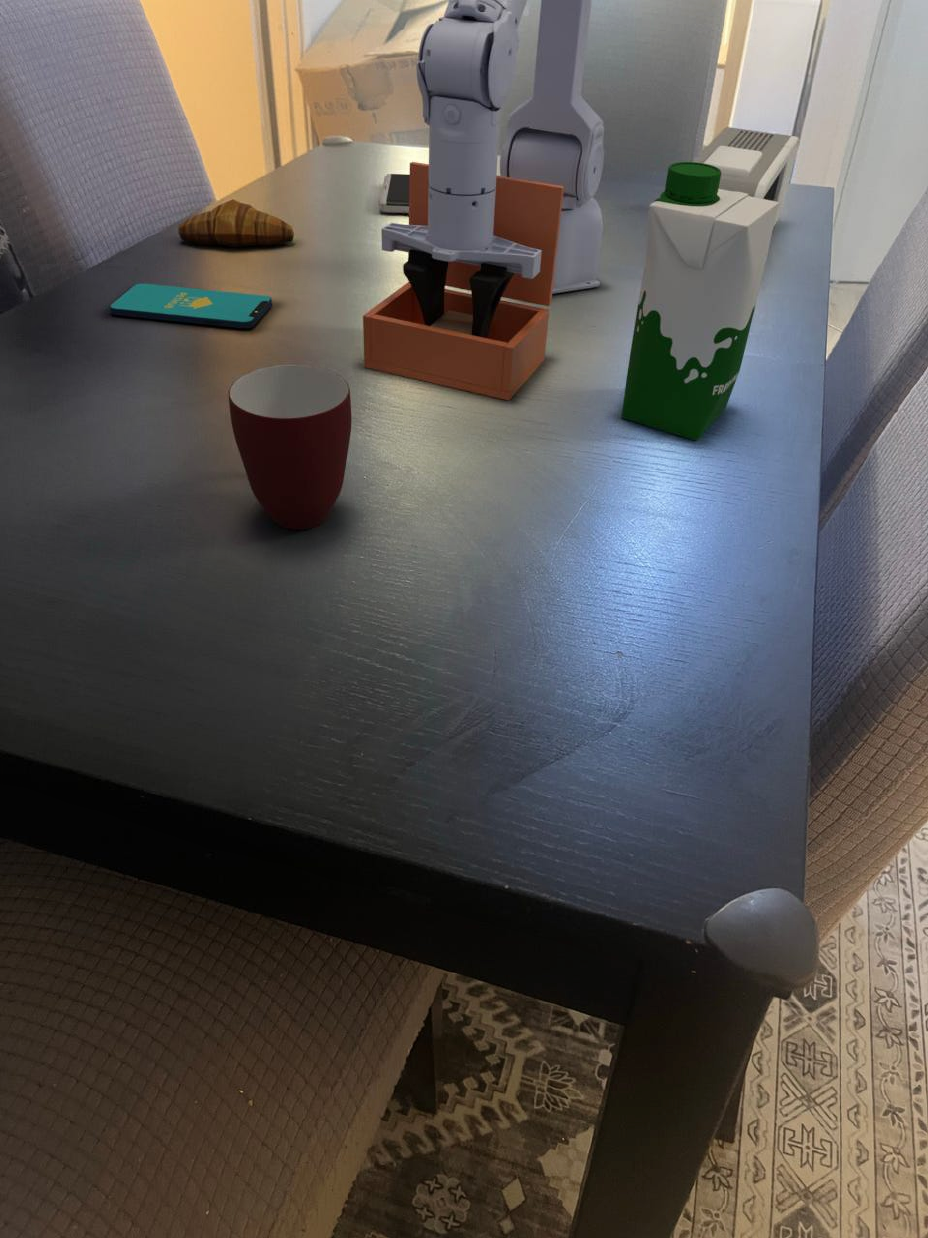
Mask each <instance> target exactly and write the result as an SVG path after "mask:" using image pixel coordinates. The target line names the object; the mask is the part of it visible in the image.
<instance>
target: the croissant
mask: <svg viewBox="0 0 928 1238" xmlns="http://www.w3.org/2000/svg"><path fill="white" fill-rule="evenodd" d="M177 232H178V235H179V239H180V240H182V241H185V242H189V243H193V244H204V245H221V246H228V247H243V246H267V245H268V246H269V245H281V244H286V243H290V242H292V241H293V240H294V235H295V233H294V229H293V226H291V225H290V224H288V223H287V222H285V221H284V220H282V219H280V218H278V217H276V216H274V215H271V214H269V213H267V212H264V211H260V210H257V208H255V207H254V206H252V205H251V204H248V203H243V202H240V201H238V200H235V199H230V200H227V201H226V202H223V203H221V204H219V205H217V206H215V207H214V208H212V209H211V210H209V211H205V212H201V213H199V214H196V215H194V216H192V217H189V218H188V219H186V220H184V221H183V222H181V223H180V224H179V225H178V230H177Z"/></svg>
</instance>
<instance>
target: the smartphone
mask: <svg viewBox="0 0 928 1238" xmlns="http://www.w3.org/2000/svg"><path fill="white" fill-rule="evenodd" d="M272 306H273V300H272V297H271V296H269V295H261V294H254V293H253V294H251V293H242V292H231V291H222V290H213V289H203V288H192V287H182V286H174V285H173V286H172V285H163V284H155V283H154V284H152V283H137V284H134V285H133V286H132V287H131V288H129V289H128V290H127V291H126V292H125V293H123V294H122V295H121V296H120V297H119V298H117V299H116V300H115V301H114V302H113V303H111V304H110V305H109V310H110V314H111V315H115V316H122V317H132V318H142V319H151V320H161V321H169V322H180V323H188V324H189V323H190V324H199V325H208V326H217V327H228V328H237V329H251V328H253V327H255V325H256V324H257V323H258V322H259V320H260V319H262V317H263V316H264V315H265V314H266V312H268V310H269V309H270V308H271V307H272Z"/></svg>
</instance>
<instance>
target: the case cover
mask: <svg viewBox="0 0 928 1238" xmlns="http://www.w3.org/2000/svg"><path fill="white" fill-rule="evenodd" d="M409 175H410V178H409V213H408V225H418V226H428V191H429V184H428V183H429V163H422V162H417V161H411V162H409ZM563 192H564V186H559V185H553V184H547V183H540V182H534V181H528V180H522V179H516V178H510V177H503V176H500V175H497V176H496V194H495V211H494V228H493V235H494V236H497V237H500V238H502V239H505V240H508V241H511V242H514V243H517V244H520V245H523V246H526V247H530V248H534V249H538V250H542V253H541V264H540V272H539V273H538V274H537V275H536V276H535V277H534V278H533V279H529V278H524V277H522V276H521V274H518V273H514V275H513V277H512V278H511V280H510V282H509V284H508V285H507V287H506V289H505V291H504V293H503V295H502V297H501V298H504V299H509V300H515V301H520V302H525V303H530V304H533V305H538V306H545V307H550V306H551V305H552V301H553V300H552V299H553V294H552V291H553V282H554V273H555V264H556V255H557V246H558V237H559V228H560V219H561V210H562V201H563ZM408 257H409V252H407V258H408ZM480 270H481V266H477V265H471V264H466V263H461V262H456V261H453V262H449V263H448V269H447V275H446V282H445V287H449V288H455V289H460V290H464V291H468V292H471V287H470V277H471V276H472V275H473V274H475V273H476V272H477V271H480Z"/></svg>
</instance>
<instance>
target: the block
mask: <svg viewBox="0 0 928 1238" xmlns="http://www.w3.org/2000/svg"><path fill="white" fill-rule="evenodd" d="M472 322H473V315H469V314H464V313H459V312H454V311H447V312H446V313H445V314H444V315H443V316H442V317H440V318H439V319H438V320H437V321H436V322H434V323H433V324H432V325H431V327H436V328H440V329H445V330H450V331H454V332H459V333H464V334H468V335H472Z"/></svg>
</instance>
